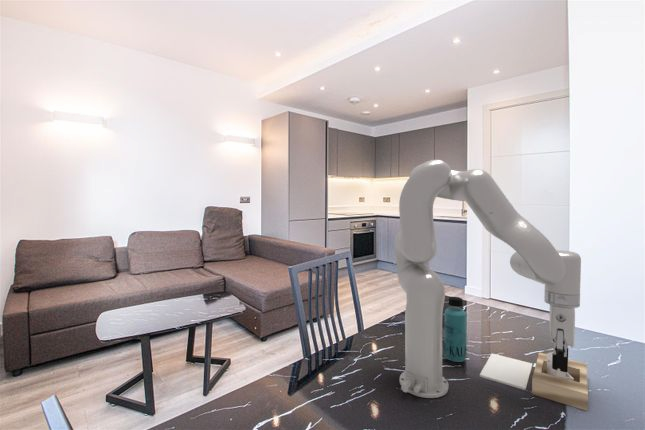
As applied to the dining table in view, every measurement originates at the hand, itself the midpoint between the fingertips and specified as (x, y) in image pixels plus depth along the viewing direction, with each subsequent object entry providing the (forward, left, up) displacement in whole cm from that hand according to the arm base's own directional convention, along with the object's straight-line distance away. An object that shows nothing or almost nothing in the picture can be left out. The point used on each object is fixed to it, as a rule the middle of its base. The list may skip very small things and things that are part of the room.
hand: (560, 365), depth 86 cm
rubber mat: (0, +12, -6) cm, 14 cm away
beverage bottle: (-3, +26, -6) cm, 27 cm away
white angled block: (0, 0, -5) cm, 5 cm away
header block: (0, 0, -6) cm, 6 cm away
